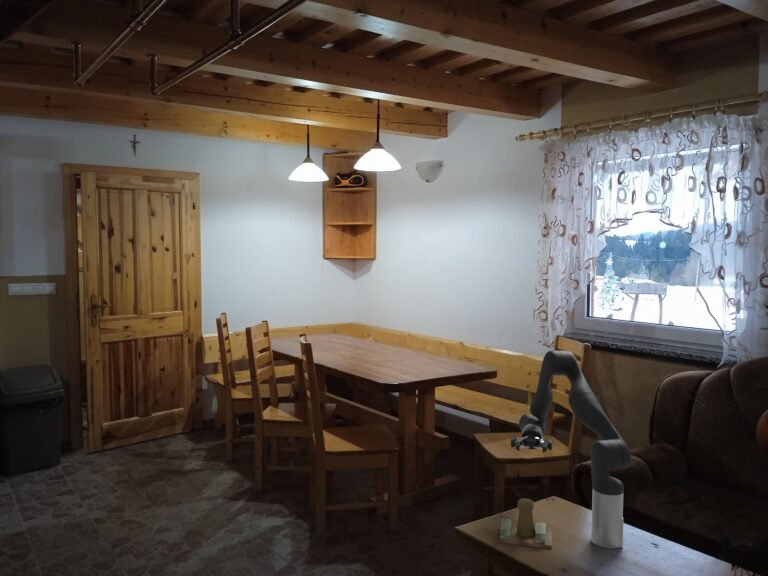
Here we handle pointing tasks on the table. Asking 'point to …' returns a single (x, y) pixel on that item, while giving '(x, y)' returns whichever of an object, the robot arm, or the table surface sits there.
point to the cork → (525, 518)
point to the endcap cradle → (511, 536)
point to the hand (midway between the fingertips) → (531, 448)
